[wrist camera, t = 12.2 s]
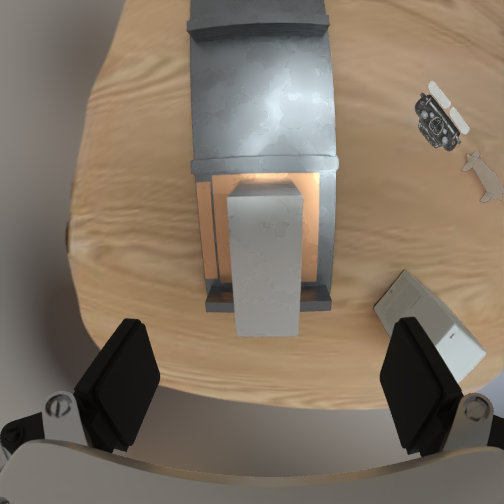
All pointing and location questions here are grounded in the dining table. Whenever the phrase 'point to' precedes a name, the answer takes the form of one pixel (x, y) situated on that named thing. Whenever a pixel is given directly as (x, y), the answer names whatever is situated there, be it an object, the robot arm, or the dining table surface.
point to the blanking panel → (266, 256)
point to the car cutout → (453, 137)
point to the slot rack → (263, 127)
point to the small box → (431, 323)
